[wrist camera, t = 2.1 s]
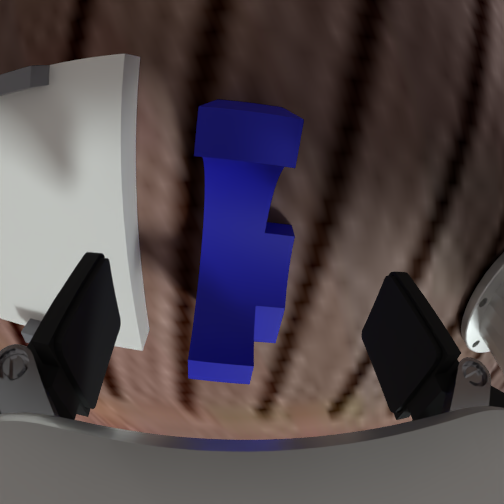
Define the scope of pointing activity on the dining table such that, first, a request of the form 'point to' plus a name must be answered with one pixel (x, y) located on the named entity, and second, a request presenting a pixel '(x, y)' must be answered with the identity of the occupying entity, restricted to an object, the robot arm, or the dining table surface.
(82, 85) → the white square board
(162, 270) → the dining table surface
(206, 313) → the cable clip
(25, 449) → the robot arm
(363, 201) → the dining table surface
